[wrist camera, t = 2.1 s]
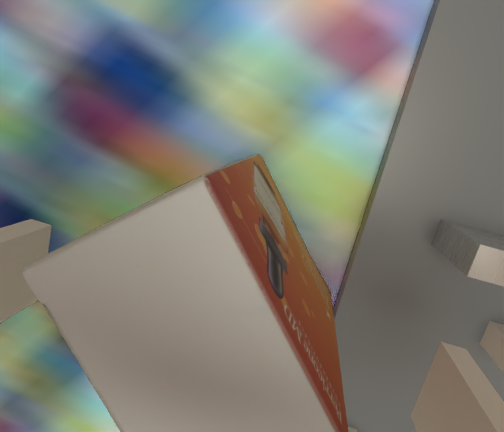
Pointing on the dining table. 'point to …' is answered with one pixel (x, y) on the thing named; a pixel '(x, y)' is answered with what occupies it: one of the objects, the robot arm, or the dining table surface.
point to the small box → (200, 312)
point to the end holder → (472, 251)
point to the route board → (428, 225)
